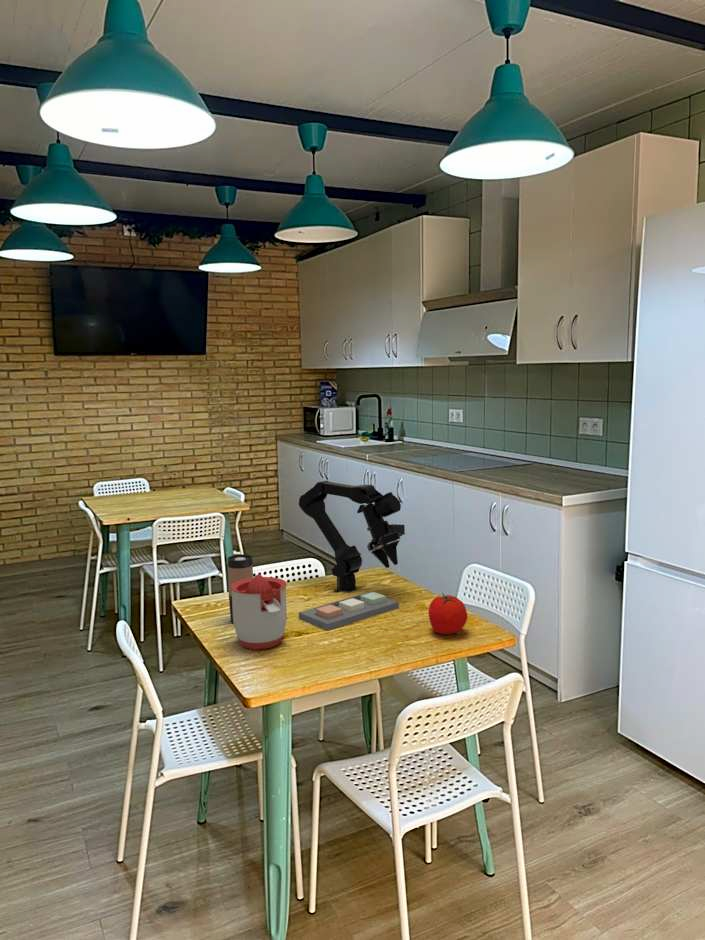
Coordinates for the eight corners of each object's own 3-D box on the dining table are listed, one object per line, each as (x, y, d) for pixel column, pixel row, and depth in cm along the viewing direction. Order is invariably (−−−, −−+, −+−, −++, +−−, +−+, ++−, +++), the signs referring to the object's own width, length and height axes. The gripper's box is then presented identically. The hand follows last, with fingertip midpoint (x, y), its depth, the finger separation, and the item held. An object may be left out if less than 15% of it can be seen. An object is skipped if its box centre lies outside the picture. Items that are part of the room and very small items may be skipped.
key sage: (360, 603, 225) (360, 595, 225) (373, 599, 229) (373, 591, 229) (372, 607, 221) (372, 599, 221) (385, 603, 225) (385, 595, 224)
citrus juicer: (250, 660, 188) (247, 587, 185) (224, 640, 202) (221, 572, 200) (301, 646, 196) (299, 577, 194) (273, 628, 211) (270, 563, 208)
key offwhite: (339, 609, 220) (338, 602, 219) (352, 605, 223) (352, 598, 223) (350, 613, 215) (350, 606, 215) (364, 609, 219) (364, 602, 219)
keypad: (298, 621, 216) (298, 611, 216) (369, 600, 235) (369, 591, 235) (327, 634, 206) (327, 623, 205) (398, 610, 224) (398, 600, 224)
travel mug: (259, 618, 220) (257, 555, 217) (246, 626, 213) (243, 561, 210) (239, 614, 223) (236, 553, 221) (224, 622, 216) (222, 559, 214)
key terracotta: (316, 616, 214) (315, 608, 213) (330, 612, 217) (330, 604, 217) (327, 621, 210) (327, 613, 209) (342, 616, 213) (342, 608, 213)
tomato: (441, 622, 213) (441, 587, 212) (474, 630, 206) (475, 594, 205) (419, 634, 204) (418, 597, 203) (453, 643, 197) (453, 604, 196)
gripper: (405, 508, 227) (423, 554, 225) (389, 518, 245) (405, 561, 243) (374, 519, 224) (392, 566, 222) (359, 528, 241) (376, 572, 239)
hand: (392, 566), depth 231 cm, fingers open, 9 cm apart
